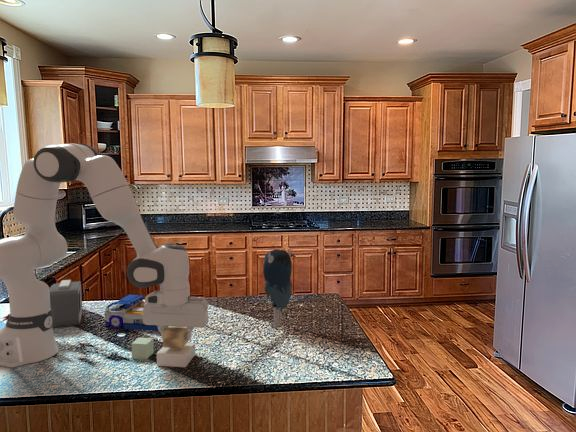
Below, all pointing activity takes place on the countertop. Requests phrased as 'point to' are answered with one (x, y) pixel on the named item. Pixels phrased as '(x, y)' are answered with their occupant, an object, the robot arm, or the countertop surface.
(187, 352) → the pedestal
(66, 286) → the grey box with button
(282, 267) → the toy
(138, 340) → the green cube
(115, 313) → the toy car
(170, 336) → the oak block
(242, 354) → the countertop surface
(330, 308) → the countertop surface
